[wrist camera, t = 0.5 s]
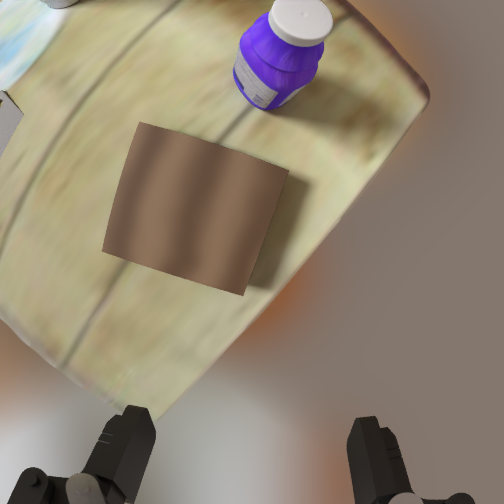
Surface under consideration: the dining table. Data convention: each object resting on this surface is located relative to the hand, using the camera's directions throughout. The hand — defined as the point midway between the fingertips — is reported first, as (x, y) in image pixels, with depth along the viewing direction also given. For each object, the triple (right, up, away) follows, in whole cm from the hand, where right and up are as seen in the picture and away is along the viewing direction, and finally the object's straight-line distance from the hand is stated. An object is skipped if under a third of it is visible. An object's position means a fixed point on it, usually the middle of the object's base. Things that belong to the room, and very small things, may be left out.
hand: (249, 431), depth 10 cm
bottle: (+1, +26, +21) cm, 33 cm away
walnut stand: (-6, +12, +23) cm, 27 cm away
